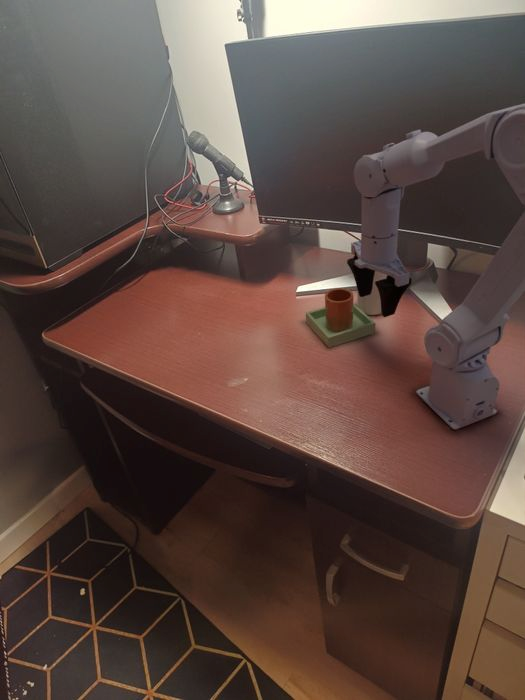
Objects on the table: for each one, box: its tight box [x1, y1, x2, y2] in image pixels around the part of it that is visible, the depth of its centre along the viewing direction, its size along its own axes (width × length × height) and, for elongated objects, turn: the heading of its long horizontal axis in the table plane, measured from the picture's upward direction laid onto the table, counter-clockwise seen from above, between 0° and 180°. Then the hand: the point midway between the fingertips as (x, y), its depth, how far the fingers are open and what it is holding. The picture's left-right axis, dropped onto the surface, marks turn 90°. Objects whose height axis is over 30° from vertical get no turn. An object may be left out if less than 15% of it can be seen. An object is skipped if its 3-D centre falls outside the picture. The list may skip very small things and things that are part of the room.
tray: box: [305, 302, 377, 348], centre depth 93 cm, size 10×10×2 cm
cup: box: [324, 287, 354, 333], centre depth 91 cm, size 5×5×7 cm
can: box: [356, 271, 387, 316], centre depth 94 cm, size 6×6×12 cm
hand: (376, 304), depth 81 cm, fingers open, 7 cm apart
